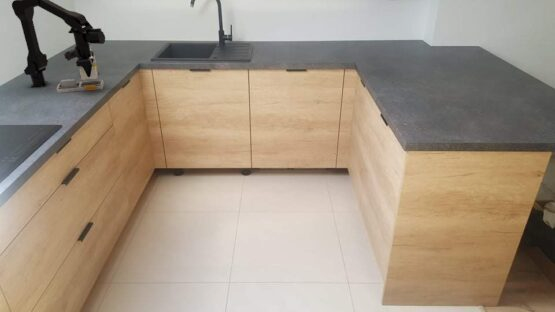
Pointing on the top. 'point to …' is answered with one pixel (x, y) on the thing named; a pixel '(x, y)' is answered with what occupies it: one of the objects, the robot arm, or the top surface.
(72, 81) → the grey filler panel
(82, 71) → the white panel
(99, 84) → the rack
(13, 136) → the top surface
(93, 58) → the supplement bottle
